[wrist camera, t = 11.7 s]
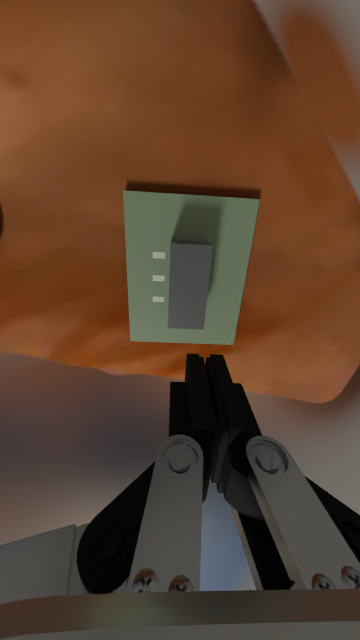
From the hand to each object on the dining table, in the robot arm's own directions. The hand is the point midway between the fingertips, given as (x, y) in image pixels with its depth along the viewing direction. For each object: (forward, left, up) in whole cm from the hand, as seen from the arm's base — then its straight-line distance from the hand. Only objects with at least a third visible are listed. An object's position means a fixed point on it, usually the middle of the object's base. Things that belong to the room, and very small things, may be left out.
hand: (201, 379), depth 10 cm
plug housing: (0, 0, -21) cm, 21 cm away
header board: (0, 0, -22) cm, 22 cm away
